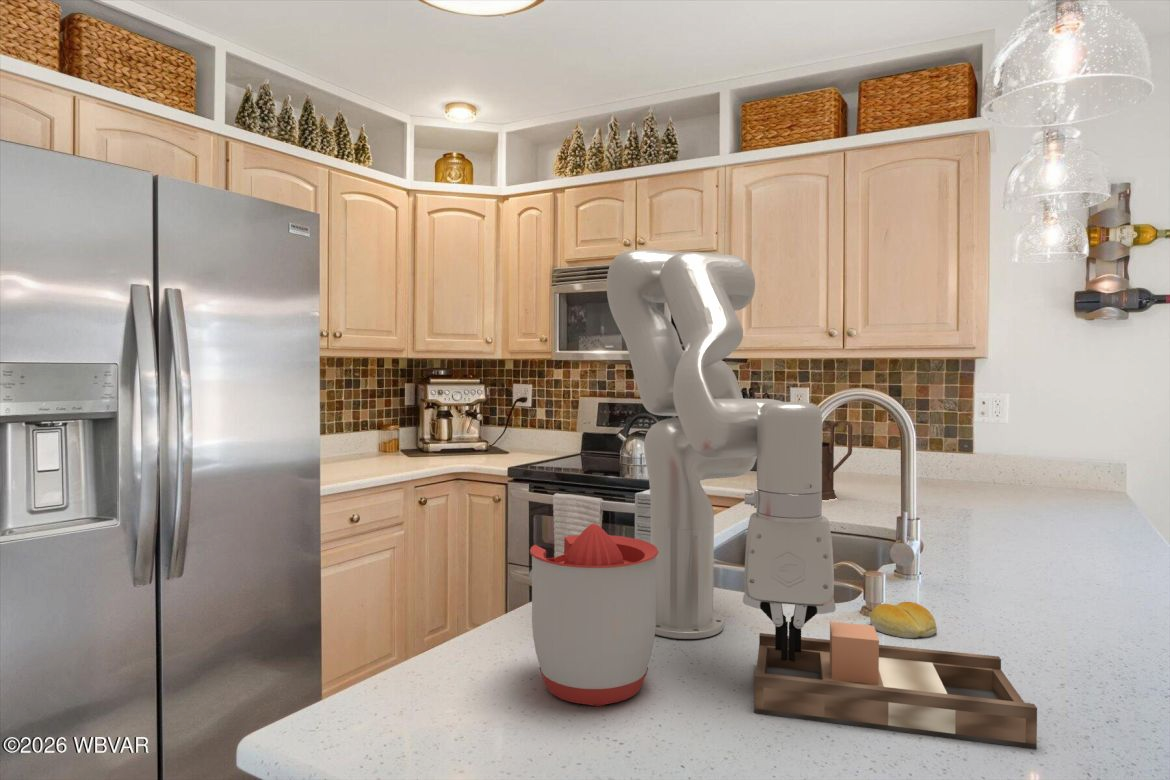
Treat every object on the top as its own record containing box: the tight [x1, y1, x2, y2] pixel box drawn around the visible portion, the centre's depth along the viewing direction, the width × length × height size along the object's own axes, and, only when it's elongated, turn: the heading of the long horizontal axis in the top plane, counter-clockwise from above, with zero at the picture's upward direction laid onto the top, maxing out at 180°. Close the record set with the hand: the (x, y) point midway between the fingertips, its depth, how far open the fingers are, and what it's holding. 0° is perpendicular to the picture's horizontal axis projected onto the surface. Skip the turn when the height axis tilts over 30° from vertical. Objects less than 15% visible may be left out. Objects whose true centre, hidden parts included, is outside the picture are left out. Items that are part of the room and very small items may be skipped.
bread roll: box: [869, 601, 938, 639], centre depth 107 cm, size 8×9×4 cm
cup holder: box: [822, 419, 853, 500], centre depth 222 cm, size 18×24×25 cm
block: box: [829, 621, 880, 684], centre depth 84 cm, size 5×5×5 cm
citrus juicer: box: [528, 523, 658, 707], centre depth 88 cm, size 16×17×20 cm
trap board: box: [753, 632, 1038, 750], centre depth 83 cm, size 28×14×4 cm, turn 74°
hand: (788, 656), depth 86 cm, fingers closed
